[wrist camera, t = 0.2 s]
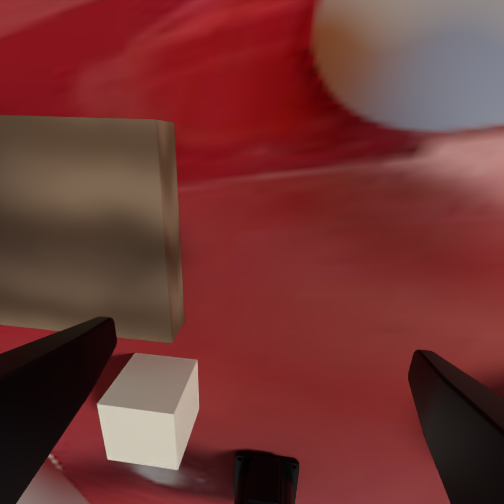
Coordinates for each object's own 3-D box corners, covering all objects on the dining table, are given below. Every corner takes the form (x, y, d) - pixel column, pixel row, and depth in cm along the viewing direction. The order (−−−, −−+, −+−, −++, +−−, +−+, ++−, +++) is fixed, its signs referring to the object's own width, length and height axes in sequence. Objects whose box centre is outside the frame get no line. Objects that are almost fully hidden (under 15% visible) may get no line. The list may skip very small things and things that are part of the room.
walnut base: (184, 321, 26) (171, 343, 23) (17, 304, 28) (-13, 323, 25) (173, 122, 21) (155, 119, 18) (-34, 116, 22) (-81, 112, 20)
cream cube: (199, 408, 30) (177, 470, 24) (141, 400, 30) (107, 459, 25) (197, 359, 28) (173, 414, 22) (135, 352, 28) (97, 404, 23)
